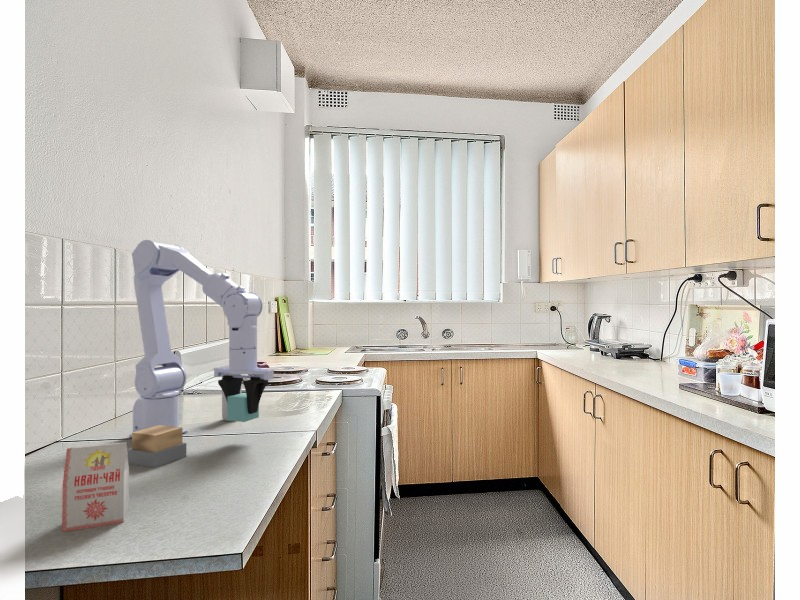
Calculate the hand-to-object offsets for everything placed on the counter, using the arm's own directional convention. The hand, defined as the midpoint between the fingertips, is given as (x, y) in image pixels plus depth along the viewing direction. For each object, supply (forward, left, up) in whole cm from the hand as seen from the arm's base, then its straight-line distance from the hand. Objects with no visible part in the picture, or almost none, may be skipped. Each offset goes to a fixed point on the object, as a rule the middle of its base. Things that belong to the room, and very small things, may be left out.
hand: (243, 412), depth 99 cm
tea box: (+8, -37, -7) cm, 38 cm away
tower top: (-7, -15, -4) cm, 17 cm away
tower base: (-7, -15, -7) cm, 18 cm away
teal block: (0, 0, -2) cm, 2 cm away
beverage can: (-18, +16, -7) cm, 25 cm away
